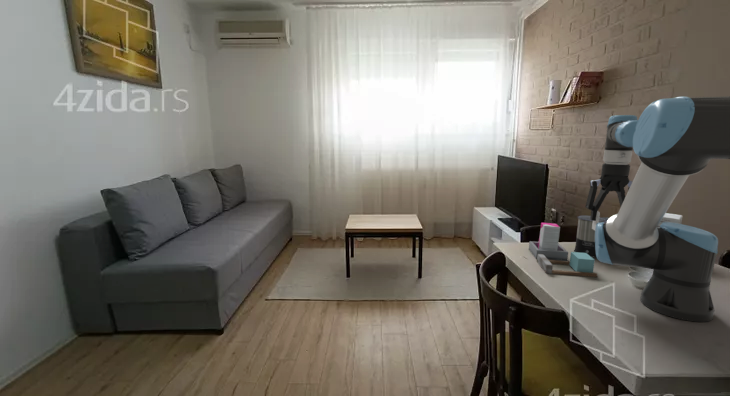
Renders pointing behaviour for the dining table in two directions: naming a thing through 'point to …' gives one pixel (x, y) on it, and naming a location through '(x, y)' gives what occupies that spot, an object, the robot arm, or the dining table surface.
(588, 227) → the milk frother
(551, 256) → the tray
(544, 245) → the supplement box
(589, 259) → the block
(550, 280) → the dining table surface
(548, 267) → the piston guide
